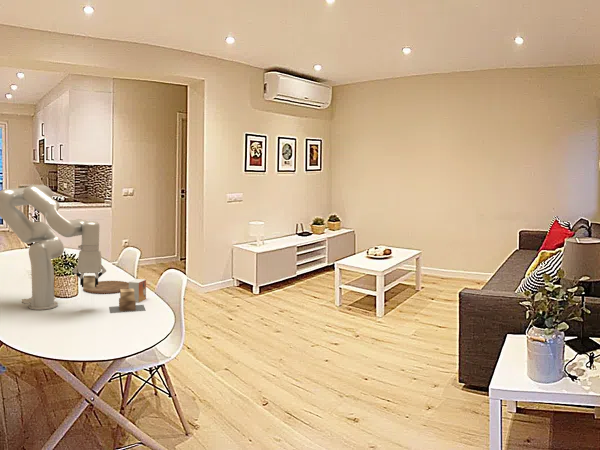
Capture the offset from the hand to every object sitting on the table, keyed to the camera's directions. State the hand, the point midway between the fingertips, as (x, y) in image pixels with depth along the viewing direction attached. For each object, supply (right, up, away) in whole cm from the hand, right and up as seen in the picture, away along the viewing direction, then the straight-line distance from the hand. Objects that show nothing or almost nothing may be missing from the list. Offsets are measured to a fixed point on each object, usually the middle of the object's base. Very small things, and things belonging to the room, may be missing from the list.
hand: (89, 286), depth 247 cm
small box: (+16, -10, +21) cm, 29 cm away
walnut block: (+16, -11, +5) cm, 20 cm away
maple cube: (0, -1, 0) cm, 1 cm away
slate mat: (+16, -12, +5) cm, 21 cm away
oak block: (+16, -7, +5) cm, 18 cm away
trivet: (-7, -7, +44) cm, 45 cm away
